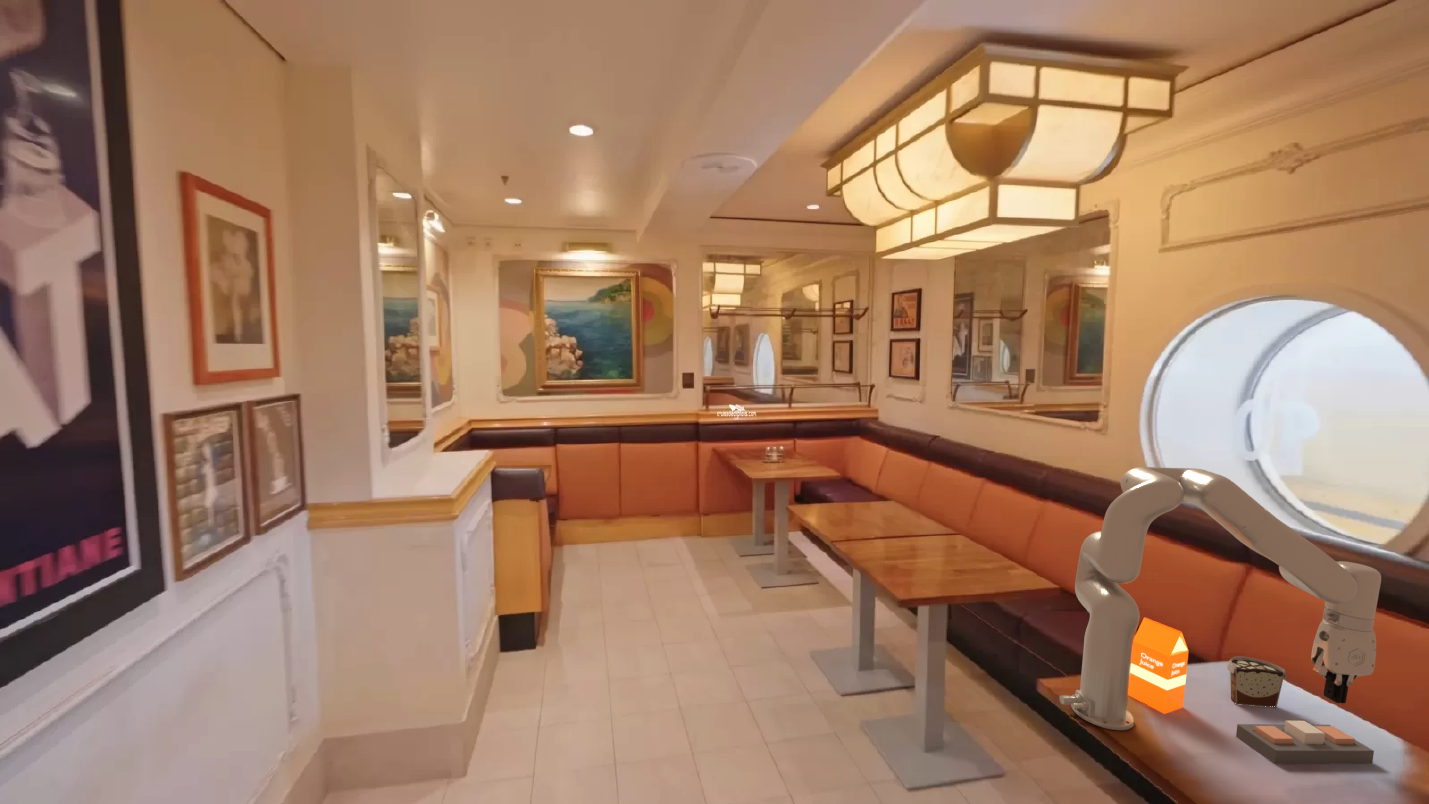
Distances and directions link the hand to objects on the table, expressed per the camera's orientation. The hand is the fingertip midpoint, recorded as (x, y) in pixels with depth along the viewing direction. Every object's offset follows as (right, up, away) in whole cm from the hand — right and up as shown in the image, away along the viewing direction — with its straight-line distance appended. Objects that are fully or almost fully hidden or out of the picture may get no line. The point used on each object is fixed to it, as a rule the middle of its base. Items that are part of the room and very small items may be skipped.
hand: (1334, 699), depth 132 cm
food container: (-1, -10, +20) cm, 23 cm away
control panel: (-7, -11, 0) cm, 13 cm away
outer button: (0, -12, +1) cm, 12 cm away
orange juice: (-26, -10, +18) cm, 33 cm away
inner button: (-14, -11, 0) cm, 18 cm away
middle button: (-7, -10, 0) cm, 12 cm away
